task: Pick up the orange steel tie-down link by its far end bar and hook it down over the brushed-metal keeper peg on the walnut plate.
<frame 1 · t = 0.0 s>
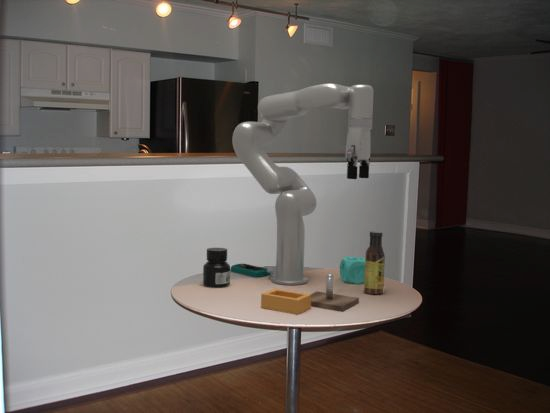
hand: (358, 178, 192), 37 cm above the table, tool pointing down, fingers open, 9 cm apart
decorative dice: (353, 281, 211), on the table
sauce bottle: (373, 293, 194), on the table
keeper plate: (329, 303, 179), on the table
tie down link: (286, 307, 173), on the table
ink bottle: (216, 285, 200), on the table
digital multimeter: (250, 275, 219), on the table
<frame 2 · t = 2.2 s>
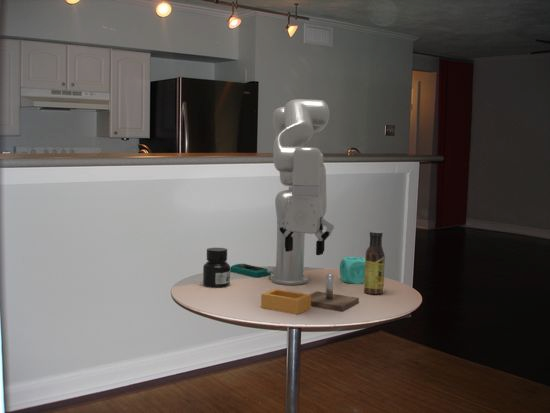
hand: (304, 252, 168), 17 cm above the table, tool pointing down, fingers open, 9 cm apart
nothing on the table moved.
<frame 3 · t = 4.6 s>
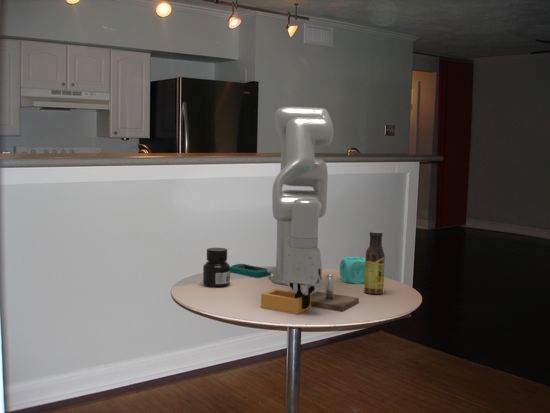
hand: (302, 306, 170), 1 cm above the table, tool pointing down, fingers closed on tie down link
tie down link: (285, 307, 173), on the table, touching gripper
everything else where it was.
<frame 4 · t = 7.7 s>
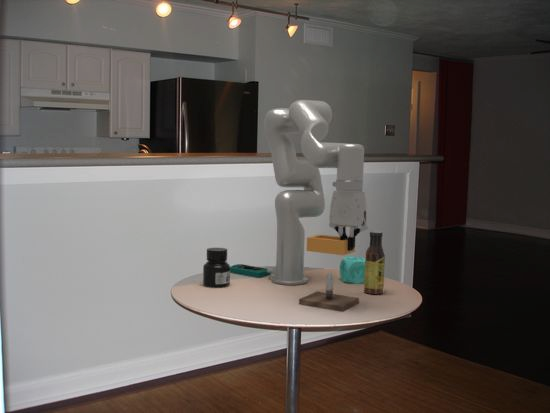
hand: (347, 249, 175), 17 cm above the table, tool pointing down, fingers closed on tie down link
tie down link: (330, 251, 178), point 16 cm above the table, touching gripper
everything else where it was.
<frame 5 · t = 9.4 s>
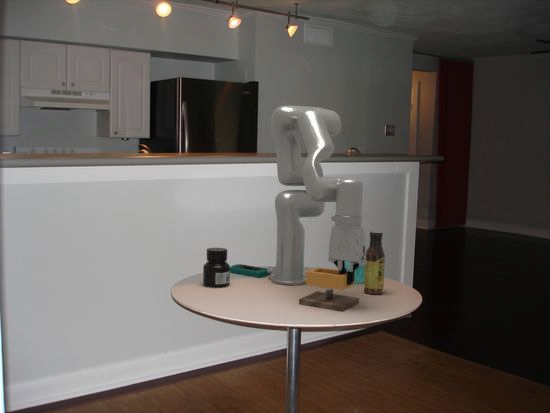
hand: (346, 283, 176), 7 cm above the table, tool pointing down, fingers closed on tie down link
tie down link: (330, 285, 178), point 6 cm above the table, touching gripper
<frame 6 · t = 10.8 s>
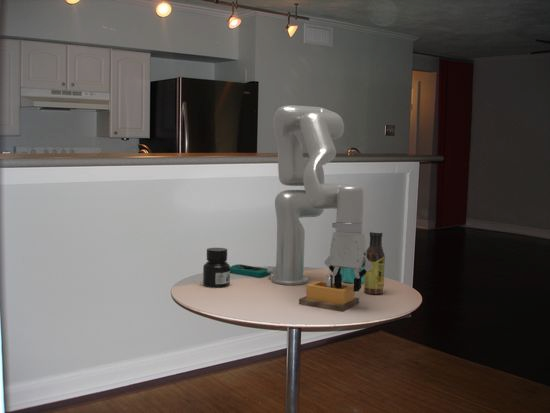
hand: (347, 289, 176), 5 cm above the table, tool pointing down, fingers open, 5 cm apart
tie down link: (330, 298, 179), point 1 cm above the table, touching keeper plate
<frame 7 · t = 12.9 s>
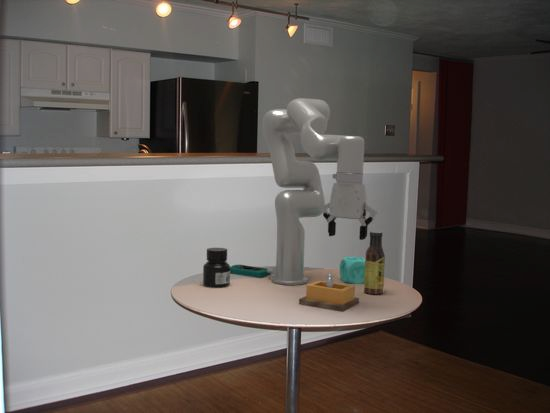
hand: (347, 237, 175), 20 cm above the table, tool pointing down, fingers open, 9 cm apart
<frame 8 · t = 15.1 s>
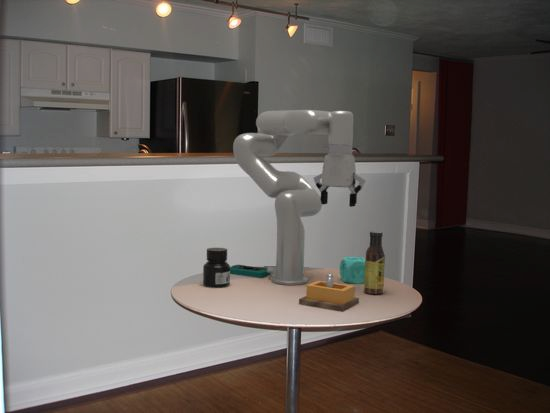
hand: (338, 205, 190), 28 cm above the table, tool pointing down, fingers open, 9 cm apart
at the end: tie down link 0.4 cm from the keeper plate (horizontally); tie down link point 1.5 cm above the table; the gripper is holding nothing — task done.
